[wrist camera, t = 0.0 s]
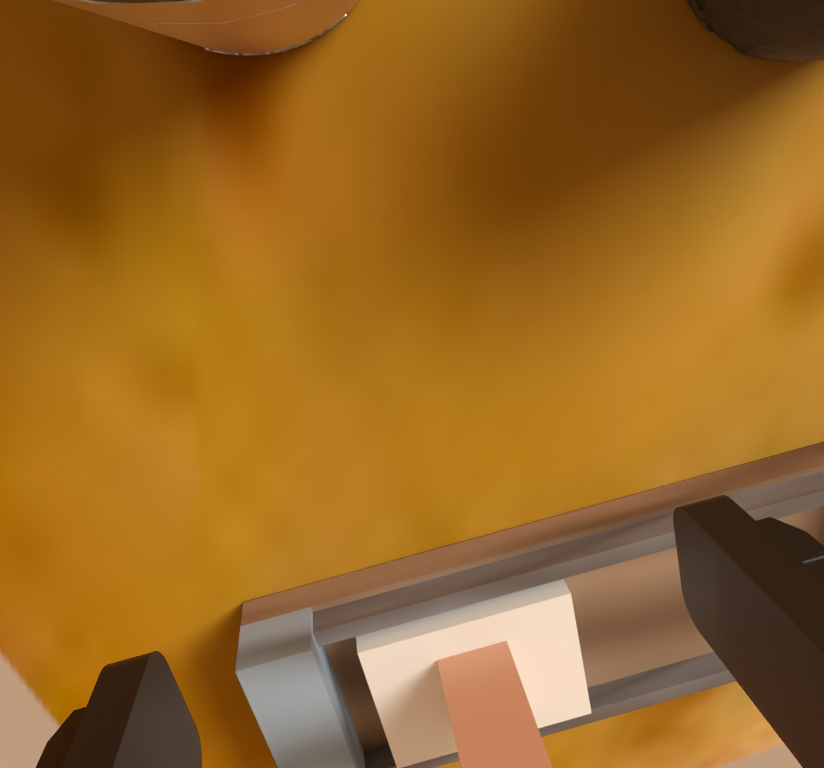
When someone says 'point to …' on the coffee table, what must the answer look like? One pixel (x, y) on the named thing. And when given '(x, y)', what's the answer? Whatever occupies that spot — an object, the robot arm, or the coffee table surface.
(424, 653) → the carriage
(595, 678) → the rail
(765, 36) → the pillar candle
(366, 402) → the coffee table surface
